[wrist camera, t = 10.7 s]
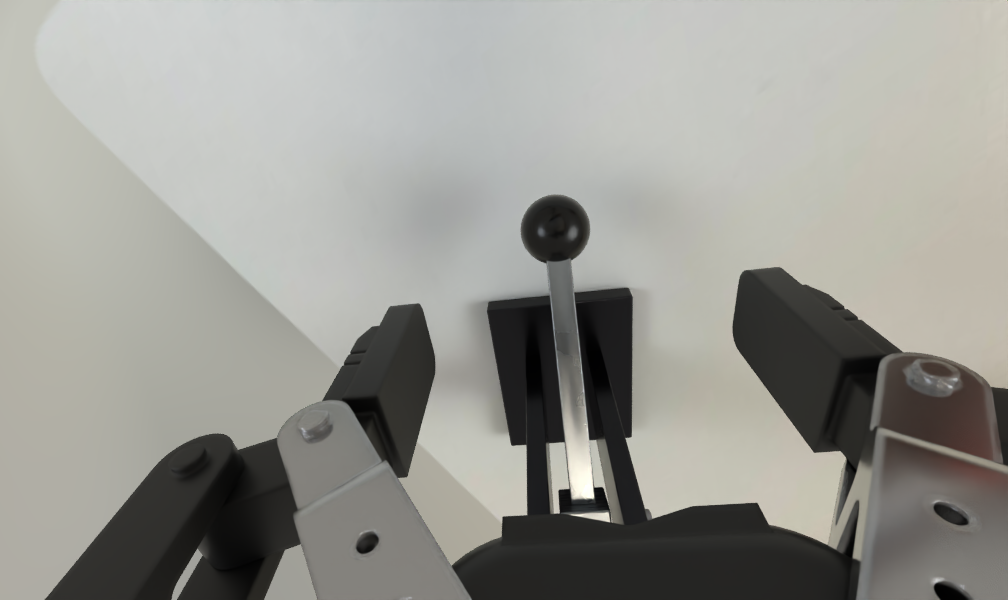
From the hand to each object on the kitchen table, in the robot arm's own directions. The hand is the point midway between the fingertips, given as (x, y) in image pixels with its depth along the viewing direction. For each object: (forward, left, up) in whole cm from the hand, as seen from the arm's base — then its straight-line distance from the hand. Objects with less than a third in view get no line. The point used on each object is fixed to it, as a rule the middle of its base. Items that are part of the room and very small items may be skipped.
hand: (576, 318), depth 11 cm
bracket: (+12, -5, -15) cm, 20 cm away
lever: (+7, -3, -8) cm, 11 cm away
